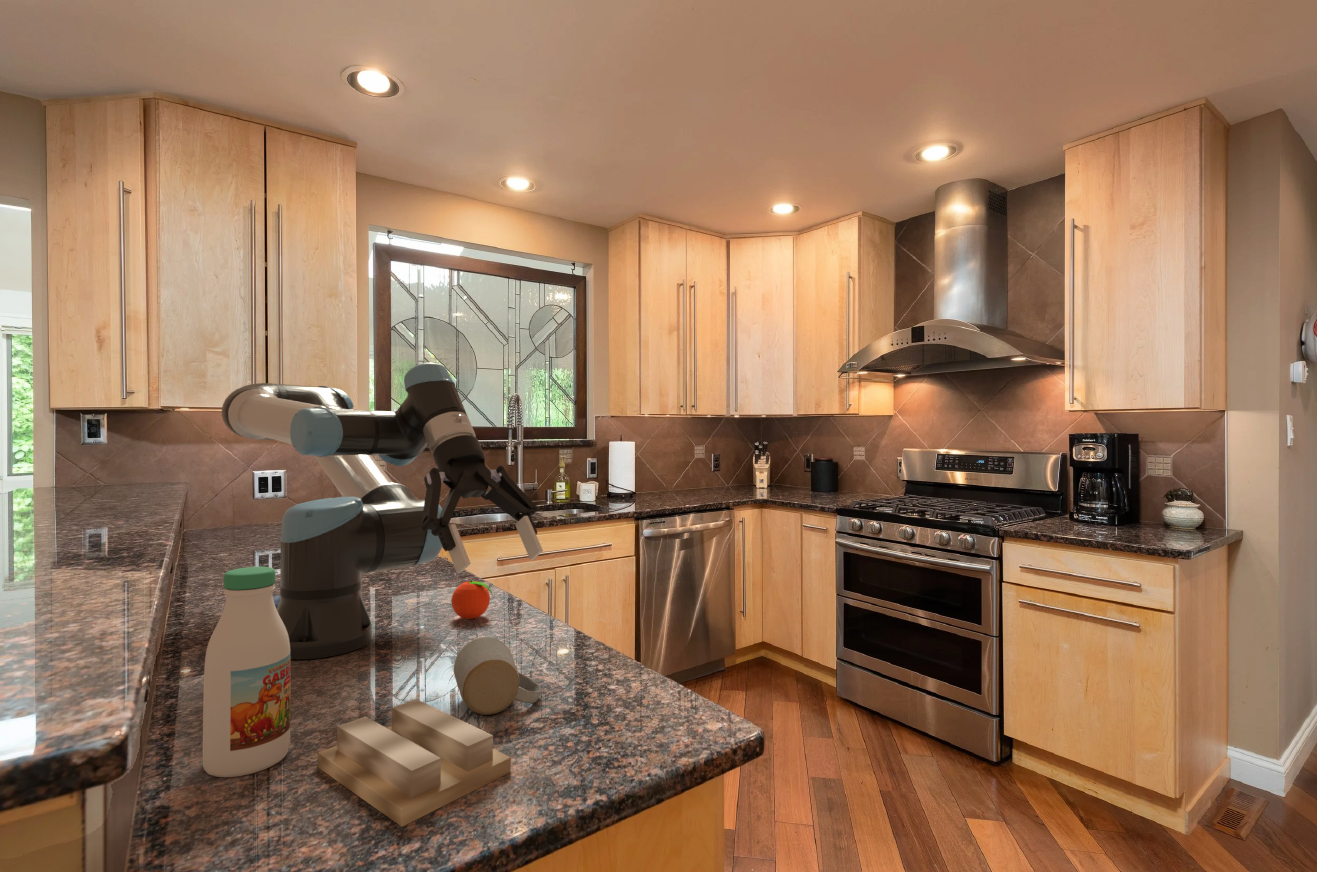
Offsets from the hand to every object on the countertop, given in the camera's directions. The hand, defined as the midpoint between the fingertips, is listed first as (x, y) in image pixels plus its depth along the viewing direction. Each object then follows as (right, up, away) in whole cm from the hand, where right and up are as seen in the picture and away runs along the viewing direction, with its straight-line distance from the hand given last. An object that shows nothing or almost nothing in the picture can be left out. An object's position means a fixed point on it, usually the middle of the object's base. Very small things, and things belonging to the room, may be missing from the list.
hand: (502, 561), depth 98 cm
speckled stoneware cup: (+3, -16, -14) cm, 21 cm away
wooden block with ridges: (-2, -15, -31) cm, 35 cm away
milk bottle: (-20, -15, -30) cm, 39 cm away
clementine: (-11, -15, +23) cm, 30 cm away
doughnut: (-45, -15, +22) cm, 52 cm away
